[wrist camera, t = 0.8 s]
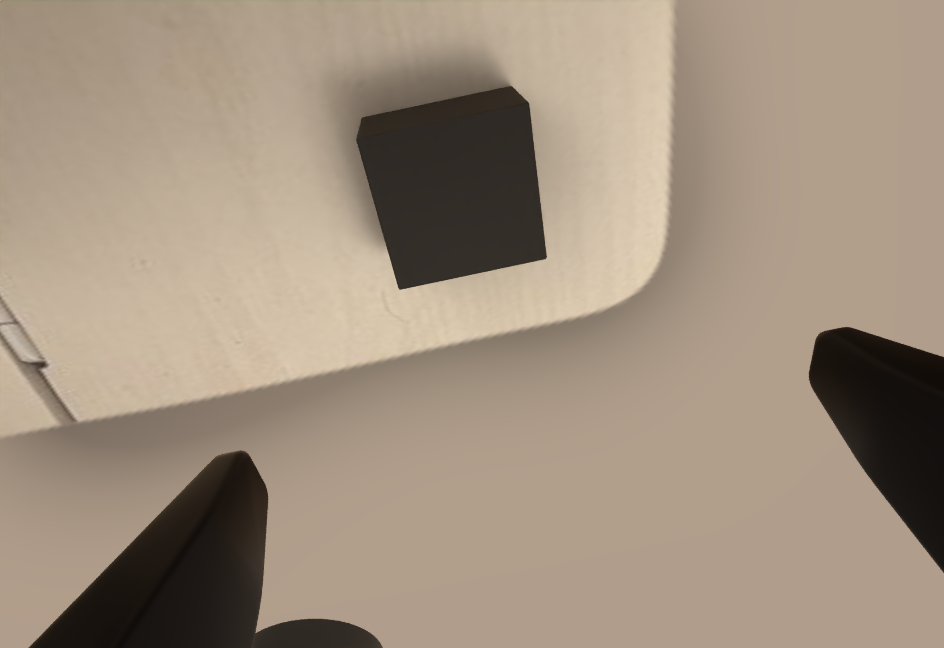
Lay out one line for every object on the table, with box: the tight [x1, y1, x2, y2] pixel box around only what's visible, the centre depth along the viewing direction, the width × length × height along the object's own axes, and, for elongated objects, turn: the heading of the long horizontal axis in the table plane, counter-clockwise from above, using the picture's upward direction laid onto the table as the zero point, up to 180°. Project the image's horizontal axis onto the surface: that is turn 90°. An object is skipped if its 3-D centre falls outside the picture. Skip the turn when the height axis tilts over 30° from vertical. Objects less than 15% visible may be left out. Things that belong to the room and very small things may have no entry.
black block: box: [357, 86, 547, 290], centre depth 16 cm, size 4×4×2 cm
